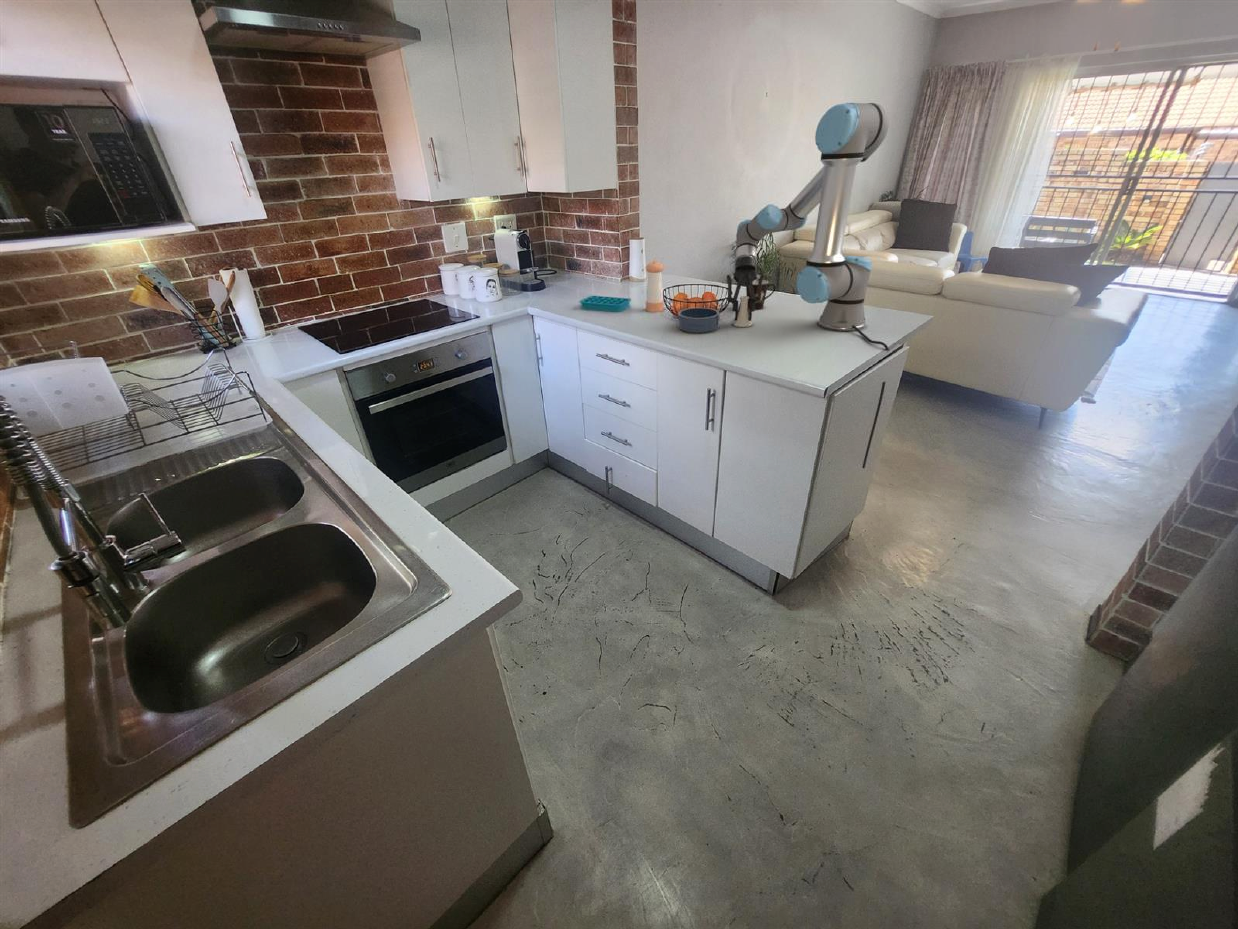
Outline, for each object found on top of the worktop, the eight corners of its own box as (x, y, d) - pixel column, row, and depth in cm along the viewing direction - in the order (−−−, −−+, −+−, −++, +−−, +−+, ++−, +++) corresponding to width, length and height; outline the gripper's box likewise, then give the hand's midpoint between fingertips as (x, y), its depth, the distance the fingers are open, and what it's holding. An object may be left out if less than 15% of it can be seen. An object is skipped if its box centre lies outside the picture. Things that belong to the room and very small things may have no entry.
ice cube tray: (592, 302, 224) (591, 295, 223) (632, 305, 216) (632, 298, 214) (578, 308, 216) (577, 301, 214) (619, 312, 207) (619, 305, 206)
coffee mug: (743, 310, 202) (745, 284, 197) (744, 304, 209) (746, 279, 204) (773, 310, 200) (776, 284, 194) (773, 305, 207) (776, 279, 201)
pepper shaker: (656, 306, 213) (656, 258, 203) (667, 309, 208) (667, 260, 198) (642, 309, 210) (641, 260, 200) (652, 313, 205) (652, 263, 195)
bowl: (725, 330, 181) (726, 314, 178) (689, 336, 177) (689, 320, 174) (706, 320, 193) (707, 305, 190) (671, 325, 189) (671, 310, 186)
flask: (752, 327, 182) (755, 299, 177) (732, 327, 184) (734, 299, 178) (752, 321, 188) (754, 294, 183) (732, 321, 190) (734, 294, 184)
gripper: (768, 267, 188) (766, 324, 183) (721, 267, 191) (718, 323, 186) (771, 254, 181) (769, 313, 176) (722, 255, 184) (719, 313, 179)
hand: (743, 318), depth 181 cm, fingers closed on flask, 4 cm apart
